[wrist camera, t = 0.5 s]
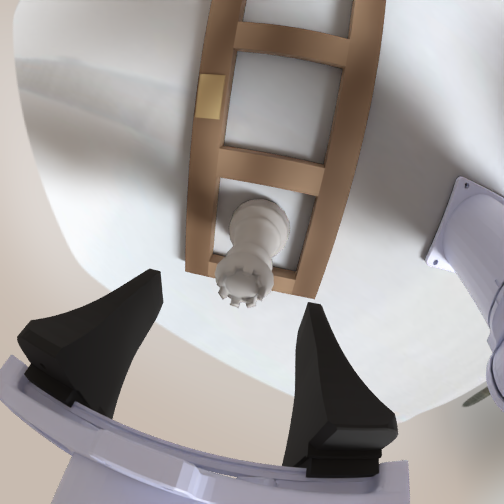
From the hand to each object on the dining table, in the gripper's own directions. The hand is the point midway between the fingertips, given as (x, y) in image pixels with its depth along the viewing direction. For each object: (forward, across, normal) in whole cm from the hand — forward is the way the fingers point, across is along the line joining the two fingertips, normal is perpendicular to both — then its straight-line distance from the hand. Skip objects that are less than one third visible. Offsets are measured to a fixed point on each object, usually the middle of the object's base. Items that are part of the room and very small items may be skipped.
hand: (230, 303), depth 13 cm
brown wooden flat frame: (+9, 0, -9) cm, 13 cm away
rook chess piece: (+10, 0, 0) cm, 10 cm away
